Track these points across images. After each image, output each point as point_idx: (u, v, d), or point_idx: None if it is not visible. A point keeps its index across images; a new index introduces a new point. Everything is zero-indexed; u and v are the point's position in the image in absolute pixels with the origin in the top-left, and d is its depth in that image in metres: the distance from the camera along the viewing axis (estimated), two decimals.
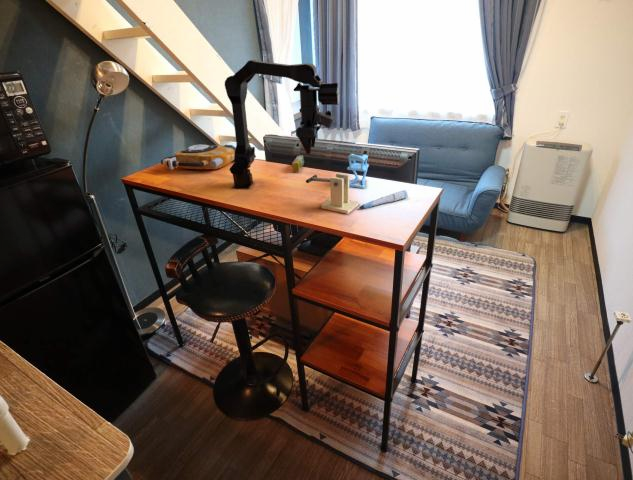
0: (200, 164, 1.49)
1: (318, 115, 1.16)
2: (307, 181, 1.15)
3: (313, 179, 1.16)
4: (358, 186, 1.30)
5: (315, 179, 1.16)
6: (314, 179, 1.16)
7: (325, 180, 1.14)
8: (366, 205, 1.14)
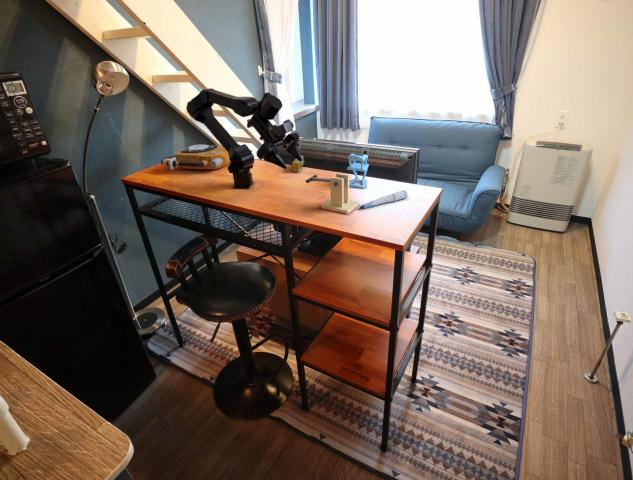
0: (200, 164, 1.49)
1: (272, 130, 1.14)
2: (307, 181, 1.15)
3: (313, 179, 1.16)
4: (358, 186, 1.30)
5: (315, 179, 1.16)
6: (314, 179, 1.16)
7: (325, 180, 1.14)
8: (366, 205, 1.14)
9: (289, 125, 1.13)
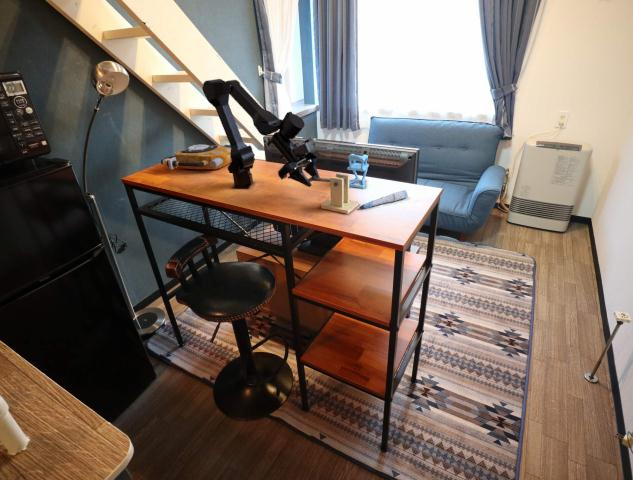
0: (200, 164, 1.49)
1: (294, 149, 1.13)
2: None
3: (313, 179, 1.16)
4: (358, 186, 1.30)
5: (315, 179, 1.16)
6: (314, 179, 1.16)
7: (325, 180, 1.14)
8: (366, 205, 1.14)
9: (311, 144, 1.12)
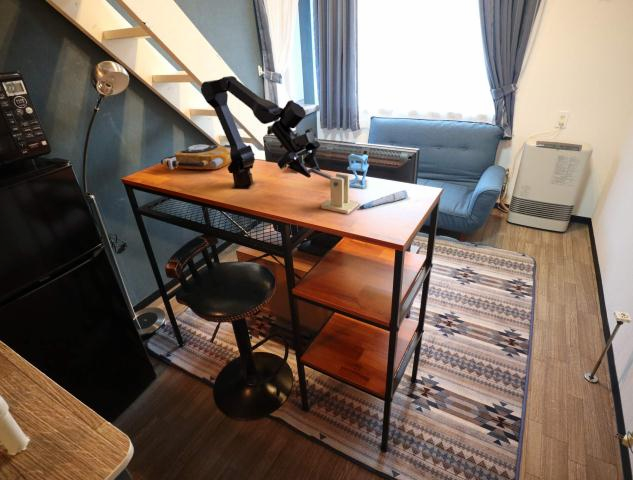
0: (200, 164, 1.49)
1: (294, 139, 1.11)
2: None
3: (313, 171, 1.15)
4: (358, 186, 1.30)
5: (315, 172, 1.15)
6: (314, 171, 1.15)
7: (325, 176, 1.13)
8: (366, 205, 1.14)
9: (312, 134, 1.10)
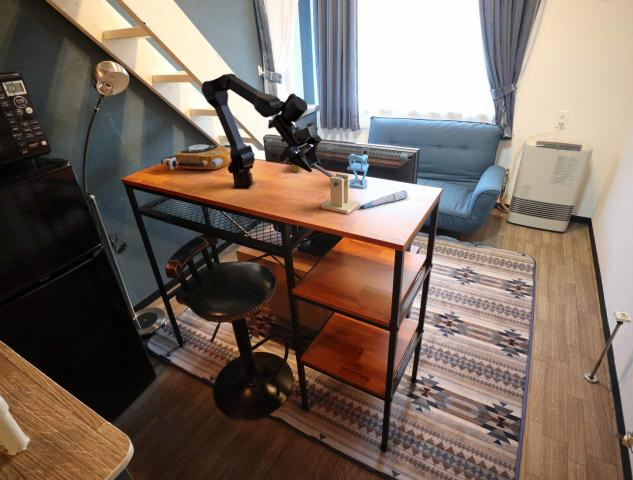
0: (200, 164, 1.49)
1: (295, 133, 1.10)
2: None
3: (314, 166, 1.14)
4: (358, 186, 1.30)
5: (316, 167, 1.14)
6: (315, 167, 1.14)
7: (326, 173, 1.13)
8: (366, 205, 1.14)
9: (313, 129, 1.09)
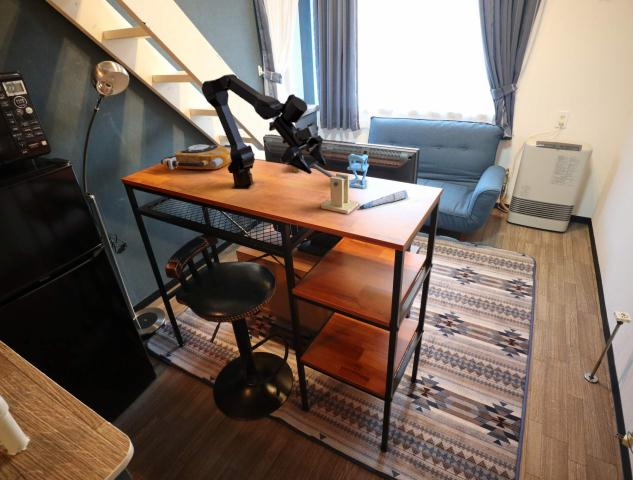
0: (200, 164, 1.49)
1: (296, 133, 1.10)
2: None
3: (314, 167, 1.14)
4: (358, 186, 1.30)
5: (316, 168, 1.14)
6: (315, 167, 1.14)
7: (326, 173, 1.13)
8: (366, 205, 1.14)
9: (314, 128, 1.09)
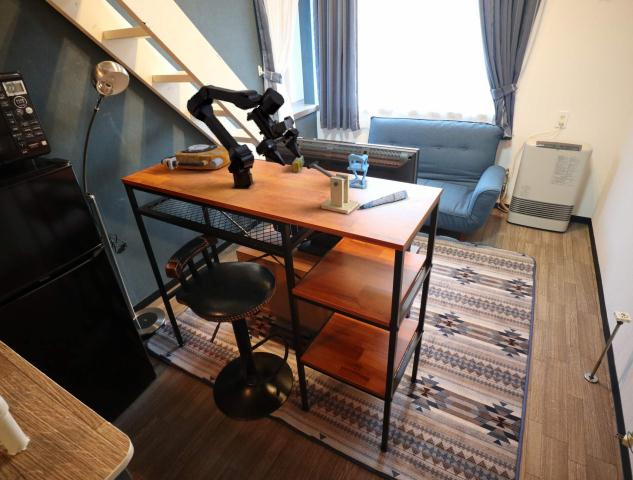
0: (200, 164, 1.49)
1: (272, 126, 1.14)
2: (308, 167, 1.13)
3: (314, 167, 1.14)
4: (358, 186, 1.30)
5: (316, 168, 1.14)
6: (315, 167, 1.14)
7: (326, 173, 1.13)
8: (366, 205, 1.14)
9: (290, 122, 1.13)
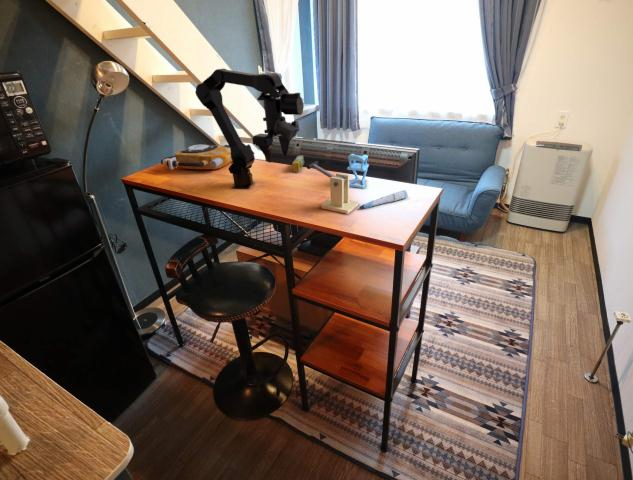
0: (200, 164, 1.49)
1: (278, 125, 1.16)
2: (308, 167, 1.13)
3: (314, 167, 1.14)
4: (358, 186, 1.30)
5: (316, 168, 1.14)
6: (315, 167, 1.14)
7: (326, 173, 1.13)
8: (366, 205, 1.14)
9: (295, 132, 1.17)
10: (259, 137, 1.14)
